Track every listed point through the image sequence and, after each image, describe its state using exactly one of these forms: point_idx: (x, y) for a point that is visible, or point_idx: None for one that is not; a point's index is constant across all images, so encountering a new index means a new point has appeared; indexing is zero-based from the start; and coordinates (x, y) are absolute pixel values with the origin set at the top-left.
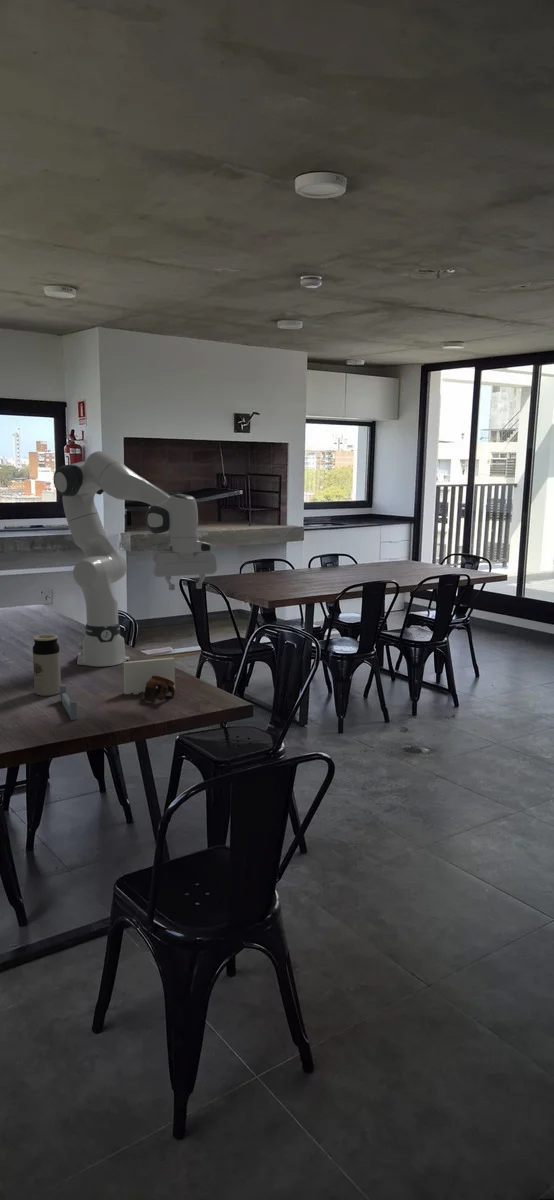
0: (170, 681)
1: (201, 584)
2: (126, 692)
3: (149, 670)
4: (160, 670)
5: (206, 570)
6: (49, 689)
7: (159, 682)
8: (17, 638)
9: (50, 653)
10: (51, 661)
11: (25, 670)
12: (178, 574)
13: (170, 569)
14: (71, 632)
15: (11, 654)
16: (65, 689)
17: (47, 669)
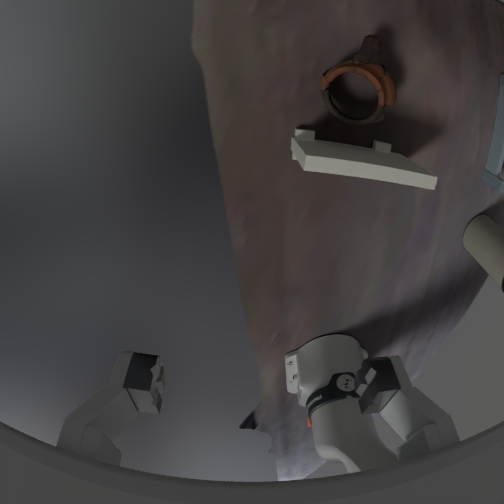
0: (346, 66)
1: (116, 374)
2: (400, 154)
3: (370, 158)
4: (341, 152)
5: (27, 471)
6: (490, 219)
7: (376, 69)
8: None
9: None
10: None
11: (430, 344)
12: (383, 478)
13: (469, 498)
14: (292, 443)
15: None
16: (498, 178)
17: None
